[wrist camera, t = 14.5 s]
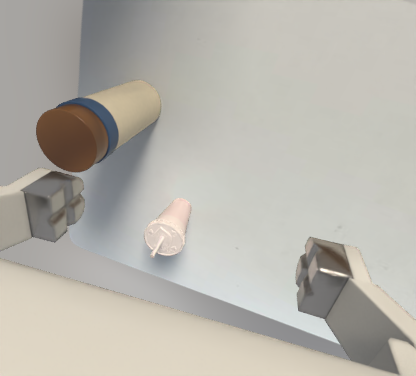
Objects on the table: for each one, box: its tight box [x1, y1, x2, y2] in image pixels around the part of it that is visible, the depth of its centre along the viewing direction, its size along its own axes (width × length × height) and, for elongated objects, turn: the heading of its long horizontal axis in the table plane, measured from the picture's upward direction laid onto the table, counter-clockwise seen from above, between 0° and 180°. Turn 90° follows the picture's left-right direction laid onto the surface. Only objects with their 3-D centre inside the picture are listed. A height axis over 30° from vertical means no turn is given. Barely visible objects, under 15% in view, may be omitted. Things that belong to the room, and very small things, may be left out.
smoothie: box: [144, 198, 191, 258], centre depth 46 cm, size 6×6×14 cm
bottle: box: [56, 80, 161, 163], centre depth 38 cm, size 7×7×16 cm
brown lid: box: [36, 104, 108, 172], centre depth 30 cm, size 7×7×2 cm
